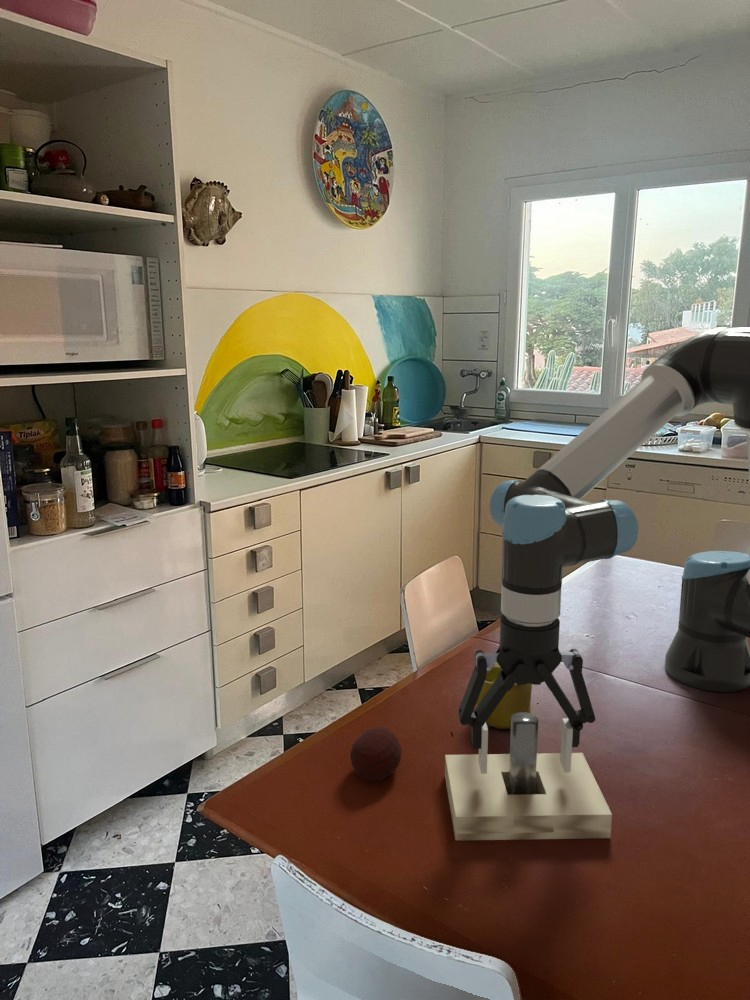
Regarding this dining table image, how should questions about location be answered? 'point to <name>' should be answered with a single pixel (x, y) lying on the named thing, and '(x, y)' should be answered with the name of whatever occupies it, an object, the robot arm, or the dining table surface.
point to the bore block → (525, 800)
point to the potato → (376, 754)
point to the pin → (523, 754)
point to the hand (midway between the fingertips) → (523, 767)
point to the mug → (506, 700)
